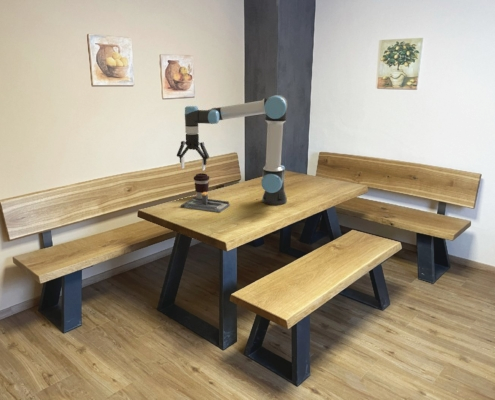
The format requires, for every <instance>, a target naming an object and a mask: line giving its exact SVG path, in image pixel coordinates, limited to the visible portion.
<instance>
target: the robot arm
mask: <svg viewBox="0 0 495 400" xmlns="http://www.w3.org/2000/svg"><path fill="white" fill-rule="evenodd" d="M288 109H289V101H288V99H287V98H286V97H285V95H281V94H275V95H272V96H269V97H264V98H263V99H262V100H257V101H251V102H250V101H249V102H244V103H239V104H231V105H226V106H221V107H220V106H219V107H212V108H210V109H201V110H200V109H199V107H198V106H196V105H187V106H185V107H184V124H185V125H184V128H185V132H184V133H185V140H181V141H180V146H179V148H178V151H177V153H176V157H178V158H179V164H180V166H181V167H180V169H181V170H183V169H185V168H186V167H185V157H184V156H185V155H186V154H187V152H188V151H189V150H195V151H196V152H197V153H198V154H199V155H200V157H201V158H202V159H201V170H202V172H203V171H205V170H206V165H207V159H210V155H209V153H208V151H207V149H206V147H205V143H204V141H202V142H200V137H199V136H200V135H199V124H209V125H215V124H216V125H218V123H219V121H224V120H231V119H237V118H245V117H250V116H256V115H258V116H259V115H263V114H264V115H265V116H264V121H265V122H266V123H267V130H266V133H267V135H266V152H265V153H266V155H265V165H264V167H263V168H262V178H261V182H260V183H261V187H262V189H263V191H264V192H263V194H262V197H261V199H262V203H264V204H265V205H271V206H274V205H275V206H279V205H280V206H281V205H284V204H286V203H287V194H286V191H285V173H286V167H285V165H282V151H283V150H282V149H283V132H284V131H283V130H284V123H286V122H287V114H288V113H287V110H288ZM185 145H186V147H185ZM184 147H185V148H184Z"/></svg>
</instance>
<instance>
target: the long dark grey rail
mask: <svg viewBox="0 0 495 400" xmlns="http://www.w3.org/2000/svg"><path fill="white" fill-rule="evenodd" d="M192 199H196V200H202V198H197V197H192ZM208 201H212V202H220V203H225V204H230V202H229V201H227V200H221V199H219V200H218V199H212V198H208Z"/></svg>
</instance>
